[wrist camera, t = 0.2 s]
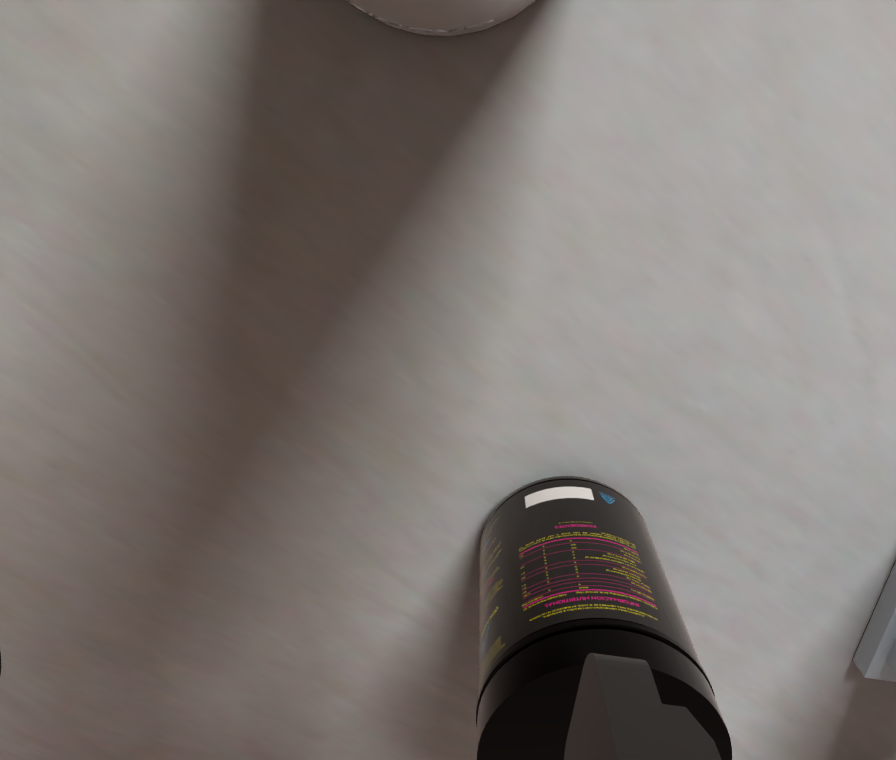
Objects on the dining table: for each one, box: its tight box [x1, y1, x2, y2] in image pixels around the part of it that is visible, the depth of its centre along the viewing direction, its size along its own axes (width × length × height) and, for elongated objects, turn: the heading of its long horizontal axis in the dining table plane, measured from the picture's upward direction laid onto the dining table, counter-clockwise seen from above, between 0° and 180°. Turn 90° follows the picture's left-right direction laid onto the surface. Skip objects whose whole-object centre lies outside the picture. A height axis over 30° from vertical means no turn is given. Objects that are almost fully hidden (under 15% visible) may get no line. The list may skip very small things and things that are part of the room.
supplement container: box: [476, 476, 732, 760], centre depth 24 cm, size 7×7×10 cm
